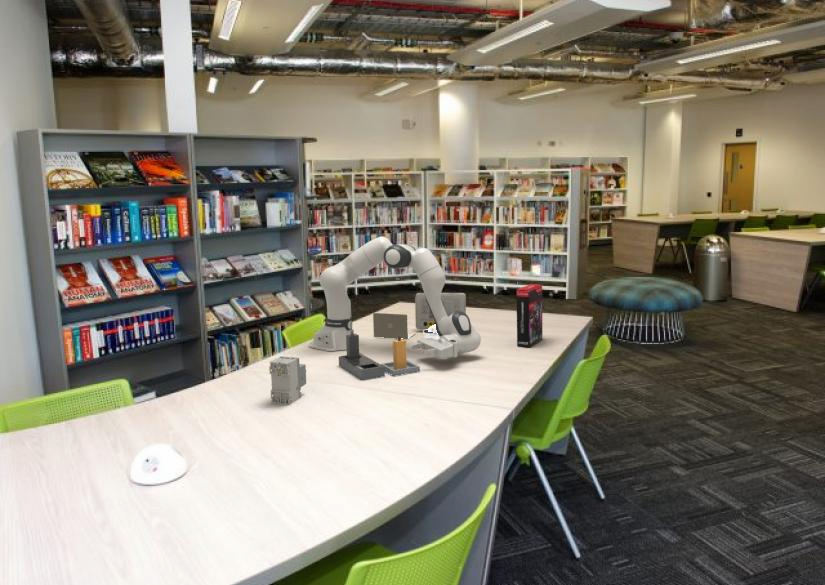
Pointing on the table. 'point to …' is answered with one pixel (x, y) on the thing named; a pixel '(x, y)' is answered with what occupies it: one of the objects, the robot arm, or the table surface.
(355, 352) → the twin plug
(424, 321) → the network device
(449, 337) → the robot arm
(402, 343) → the plug
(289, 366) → the circuit breaker
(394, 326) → the laptop
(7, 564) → the table surface
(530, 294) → the graphics card box
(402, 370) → the tray
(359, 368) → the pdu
